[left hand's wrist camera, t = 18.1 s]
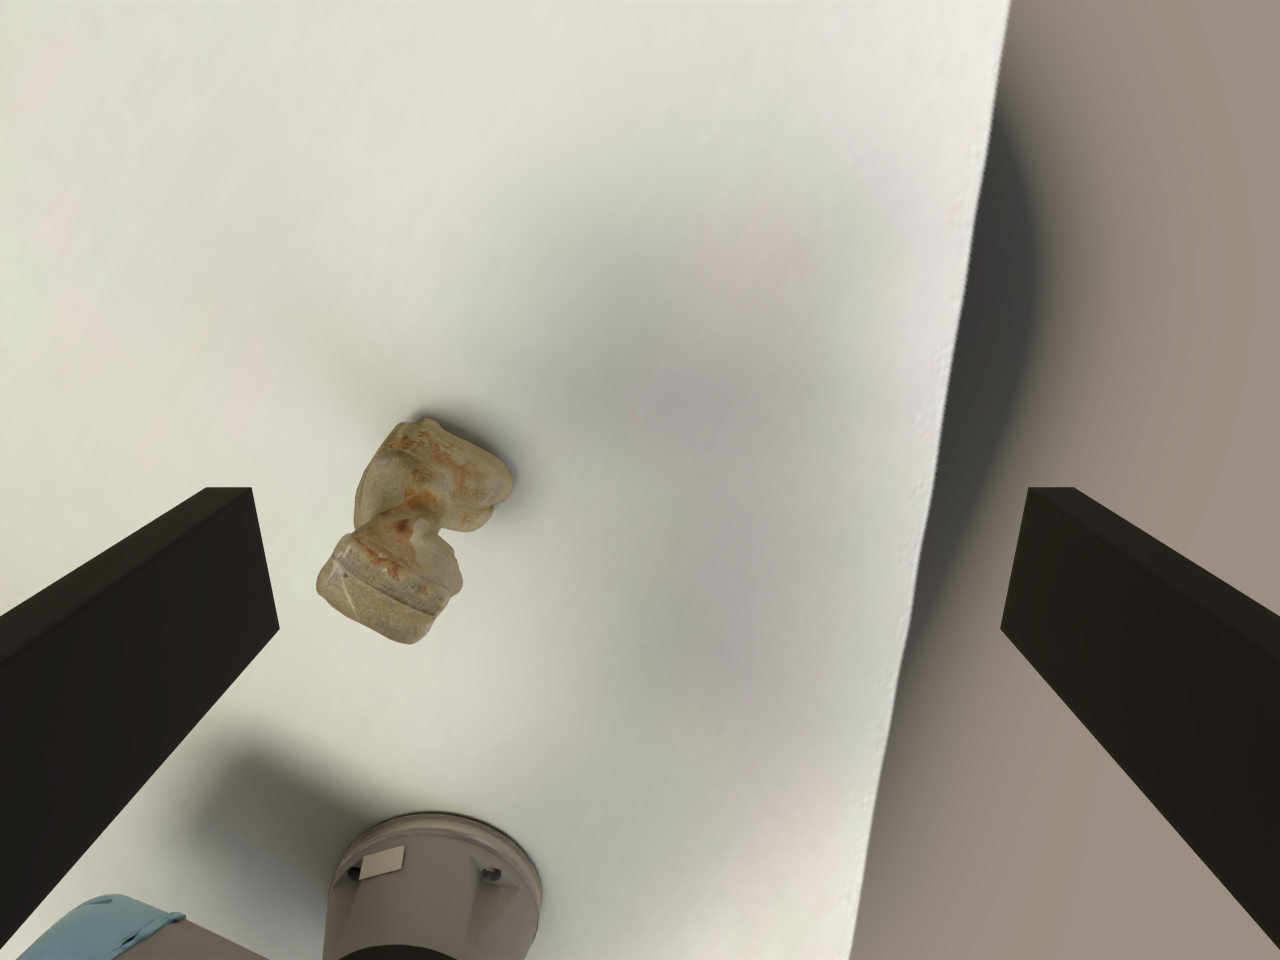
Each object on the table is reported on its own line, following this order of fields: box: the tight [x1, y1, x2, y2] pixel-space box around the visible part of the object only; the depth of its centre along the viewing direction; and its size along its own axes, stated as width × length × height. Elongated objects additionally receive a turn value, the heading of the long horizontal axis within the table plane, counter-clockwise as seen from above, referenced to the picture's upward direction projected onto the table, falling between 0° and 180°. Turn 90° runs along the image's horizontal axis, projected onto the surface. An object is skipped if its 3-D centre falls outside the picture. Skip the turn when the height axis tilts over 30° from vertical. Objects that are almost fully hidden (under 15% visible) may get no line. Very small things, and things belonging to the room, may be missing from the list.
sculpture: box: [316, 418, 513, 644], centre depth 35 cm, size 6×7×15 cm
